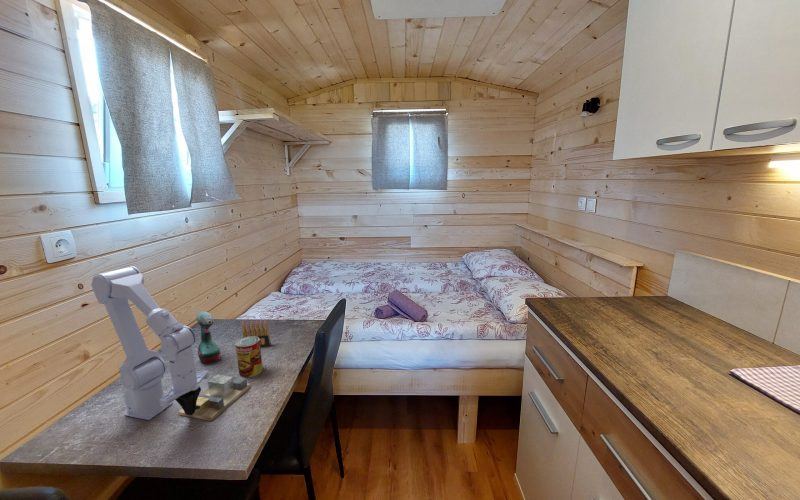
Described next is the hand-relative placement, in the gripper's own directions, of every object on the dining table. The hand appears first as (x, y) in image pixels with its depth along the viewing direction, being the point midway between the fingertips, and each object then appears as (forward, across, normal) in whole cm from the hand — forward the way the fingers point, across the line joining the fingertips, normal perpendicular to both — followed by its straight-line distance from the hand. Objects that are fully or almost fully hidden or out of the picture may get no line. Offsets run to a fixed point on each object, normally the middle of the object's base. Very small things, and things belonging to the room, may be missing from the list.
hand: (190, 413), depth 97 cm
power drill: (+3, +29, +20) cm, 35 cm away
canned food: (+3, +26, 0) cm, 26 cm away
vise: (+2, +10, 0) cm, 10 cm away
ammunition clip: (+3, +43, +10) cm, 44 cm away
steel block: (+1, +12, 0) cm, 12 cm away
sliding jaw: (+1, +4, 0) cm, 4 cm away
